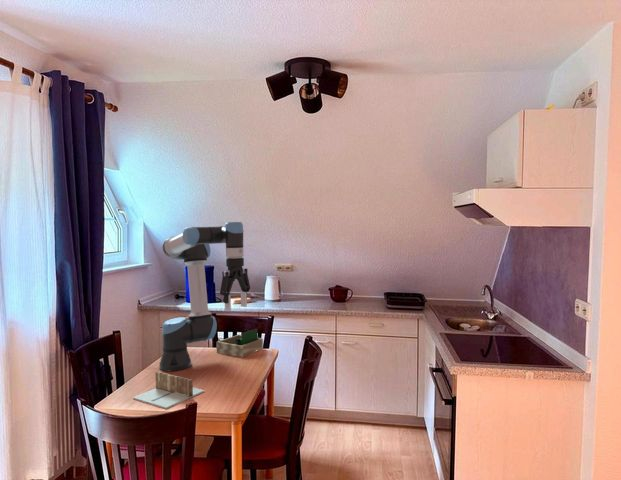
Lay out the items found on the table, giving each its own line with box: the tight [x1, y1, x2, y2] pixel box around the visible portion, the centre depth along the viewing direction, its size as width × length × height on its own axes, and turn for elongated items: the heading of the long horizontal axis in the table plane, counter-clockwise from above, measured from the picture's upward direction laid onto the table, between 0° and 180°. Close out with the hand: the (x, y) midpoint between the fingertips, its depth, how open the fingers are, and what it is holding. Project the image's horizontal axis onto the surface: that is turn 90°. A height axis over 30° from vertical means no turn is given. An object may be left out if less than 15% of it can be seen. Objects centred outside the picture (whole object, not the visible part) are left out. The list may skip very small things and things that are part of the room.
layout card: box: [132, 386, 205, 410], centre depth 182 cm, size 20×20×1 cm
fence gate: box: [174, 375, 194, 397], centre depth 181 cm, size 10×2×7 cm, turn 58°
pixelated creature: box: [236, 328, 259, 346], centre depth 245 cm, size 12×12×12 cm
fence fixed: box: [154, 371, 176, 393], centre depth 186 cm, size 11×2×8 cm, turn 58°
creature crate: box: [216, 334, 264, 358], centre depth 244 cm, size 18×18×6 cm
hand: (236, 308), depth 192 cm, fingers open, 10 cm apart
